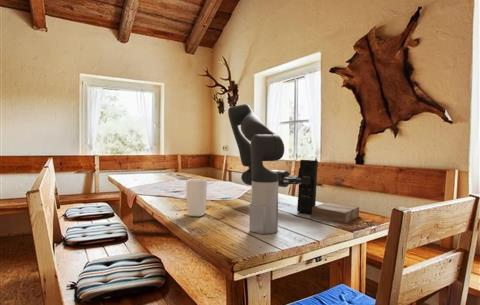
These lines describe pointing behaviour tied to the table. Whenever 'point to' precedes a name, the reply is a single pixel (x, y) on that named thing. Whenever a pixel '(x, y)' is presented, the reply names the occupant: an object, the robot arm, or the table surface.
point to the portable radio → (307, 185)
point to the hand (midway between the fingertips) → (311, 181)
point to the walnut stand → (335, 212)
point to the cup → (196, 196)
